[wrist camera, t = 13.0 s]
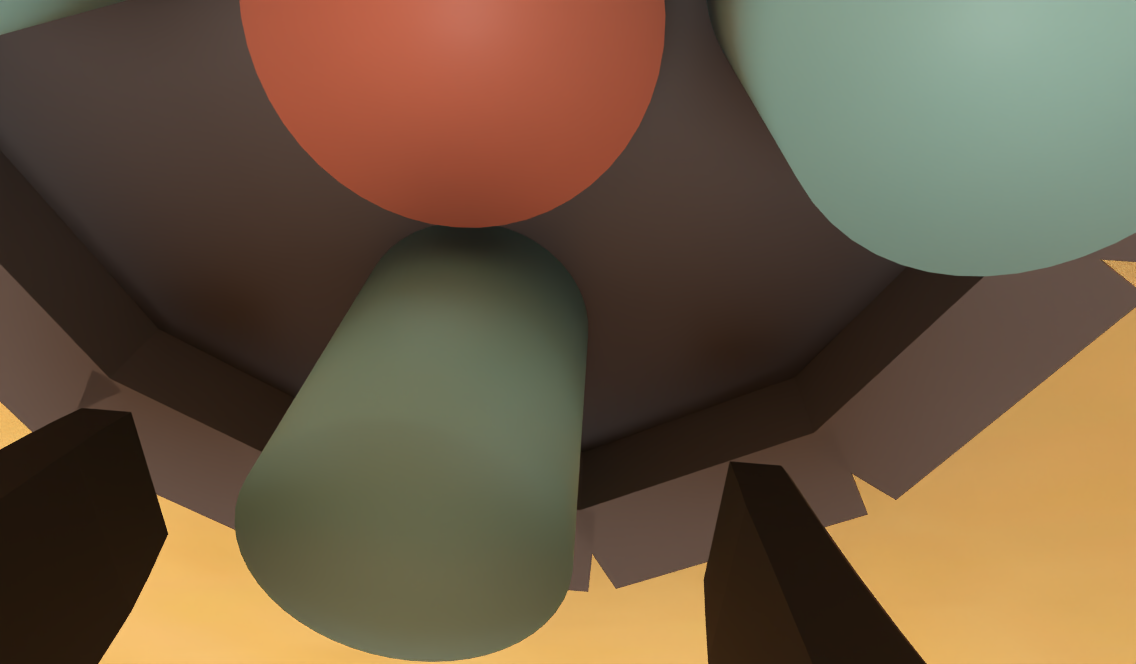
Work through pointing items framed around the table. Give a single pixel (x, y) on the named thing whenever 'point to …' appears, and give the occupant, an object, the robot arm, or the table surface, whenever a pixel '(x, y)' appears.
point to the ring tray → (650, 244)
